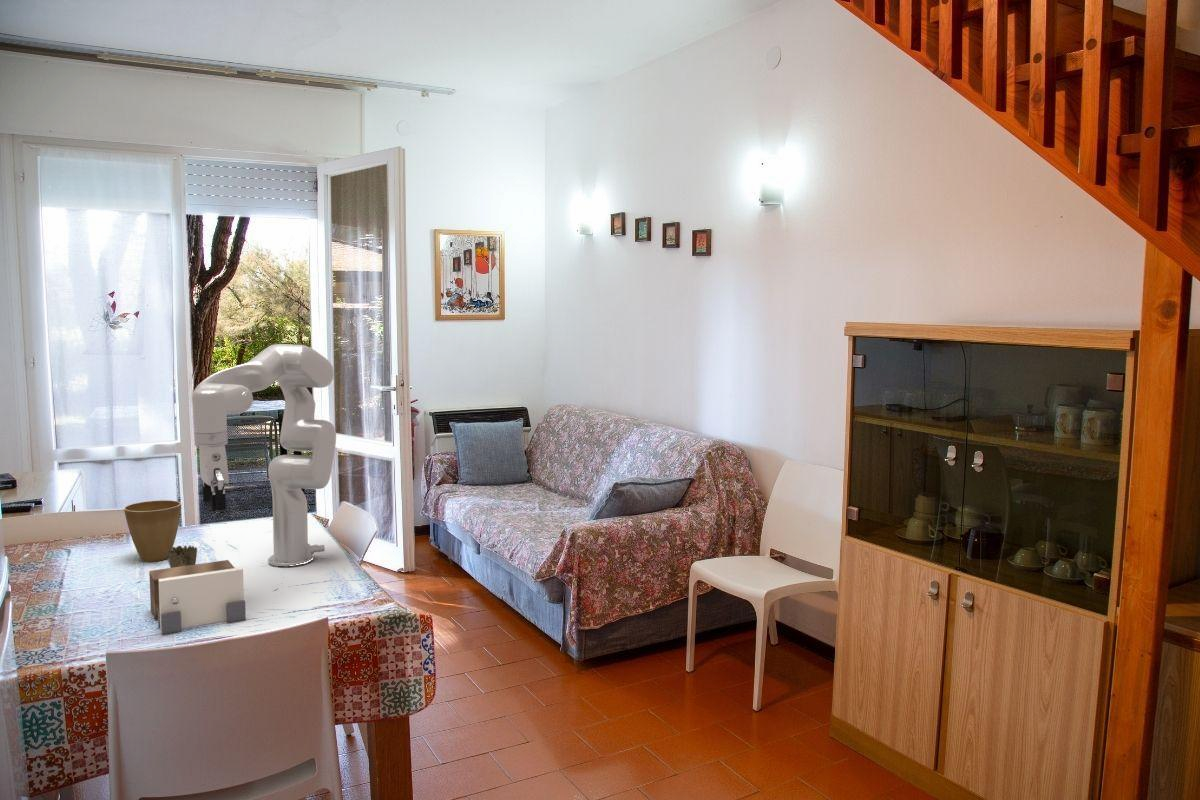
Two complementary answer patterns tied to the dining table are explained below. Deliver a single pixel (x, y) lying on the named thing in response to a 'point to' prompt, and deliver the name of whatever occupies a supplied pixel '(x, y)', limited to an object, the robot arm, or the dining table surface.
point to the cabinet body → (179, 572)
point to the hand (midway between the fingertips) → (214, 505)
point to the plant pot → (153, 527)
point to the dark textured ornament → (182, 556)
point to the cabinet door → (201, 595)
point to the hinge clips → (173, 619)
